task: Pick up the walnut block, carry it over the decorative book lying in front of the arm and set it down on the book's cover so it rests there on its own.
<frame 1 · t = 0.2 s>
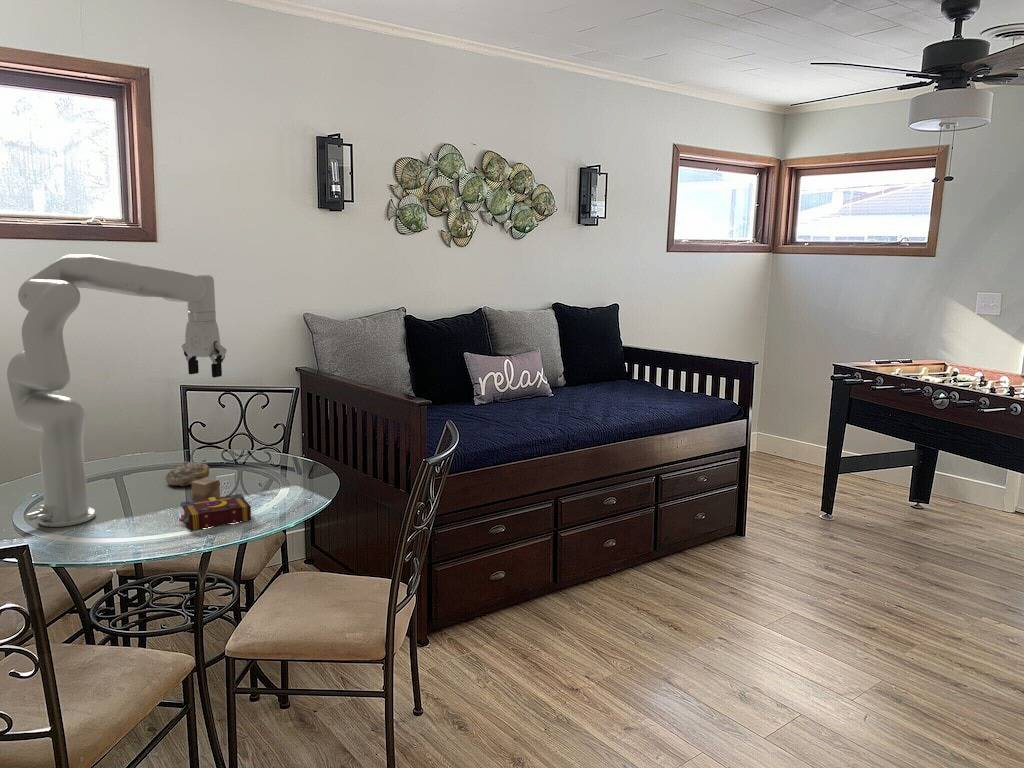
hand: (205, 375, 232), 31 cm above the table, fingers open, 9 cm apart
decorative book: (214, 521, 200), on the table
walnut block: (206, 502, 214), on the table
fossil: (188, 483, 231), on the table
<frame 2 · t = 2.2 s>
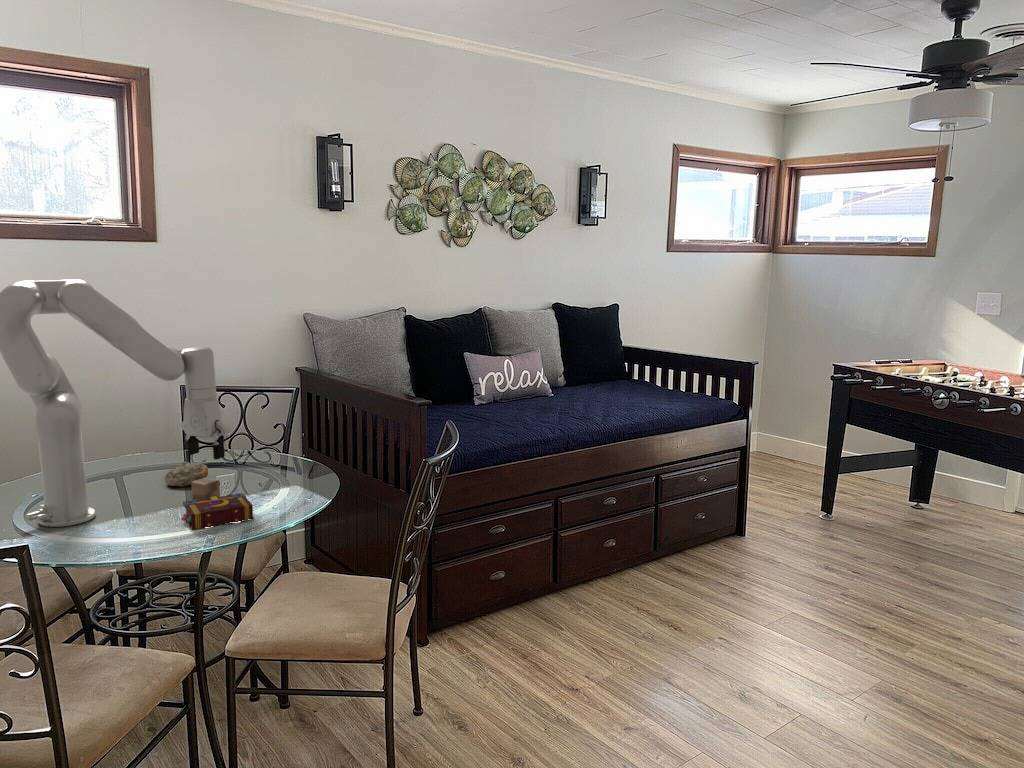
hand: (206, 456, 212), 13 cm above the table, fingers open, 9 cm apart
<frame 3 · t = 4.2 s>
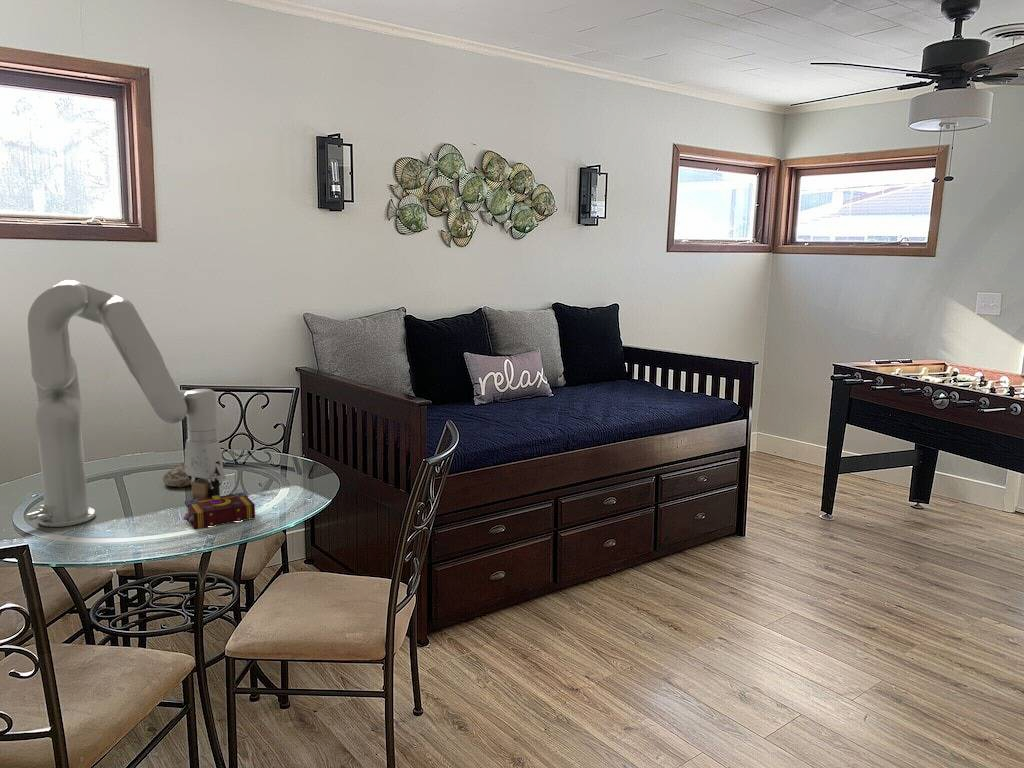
hand: (206, 499, 214), 1 cm above the table, fingers closed on walnut block, 5 cm apart
walnut block: (206, 502, 214), on the table, touching gripper
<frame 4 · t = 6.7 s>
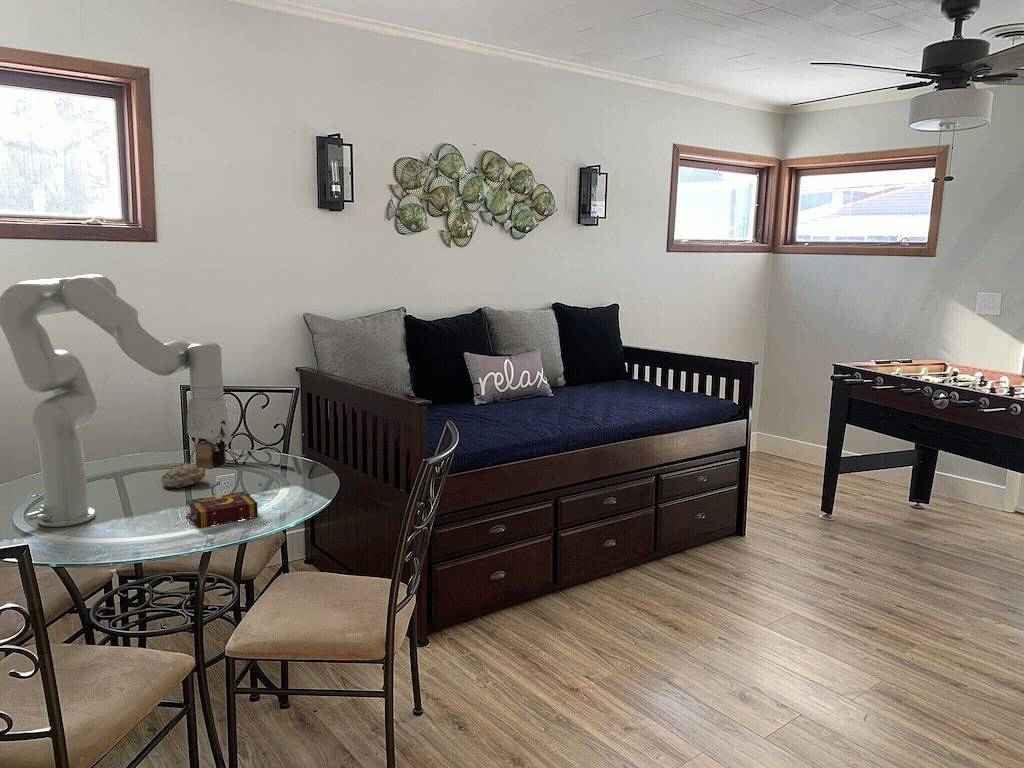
hand: (211, 463, 197), 15 cm above the table, fingers closed on walnut block, 5 cm apart
walnut block: (211, 465, 198), point 14 cm above the table, touching gripper
when the fingers open (6 cm above the table, at t = 9.0 s): walnut block moves 2 cm, resting on decorative book.
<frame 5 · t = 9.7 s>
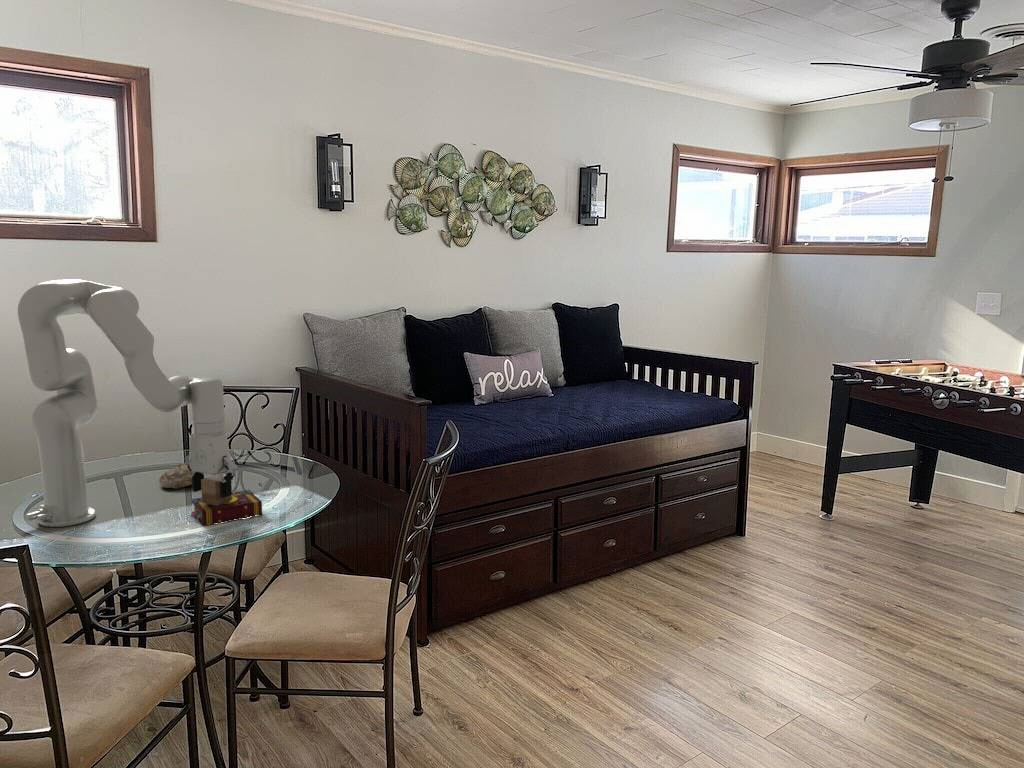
hand: (212, 493, 199), 7 cm above the table, fingers open, 9 cm apart
decorative book: (225, 517, 204), on the table, touching walnut block
walnut block: (217, 501, 201), point 5 cm above the table, touching decorative book
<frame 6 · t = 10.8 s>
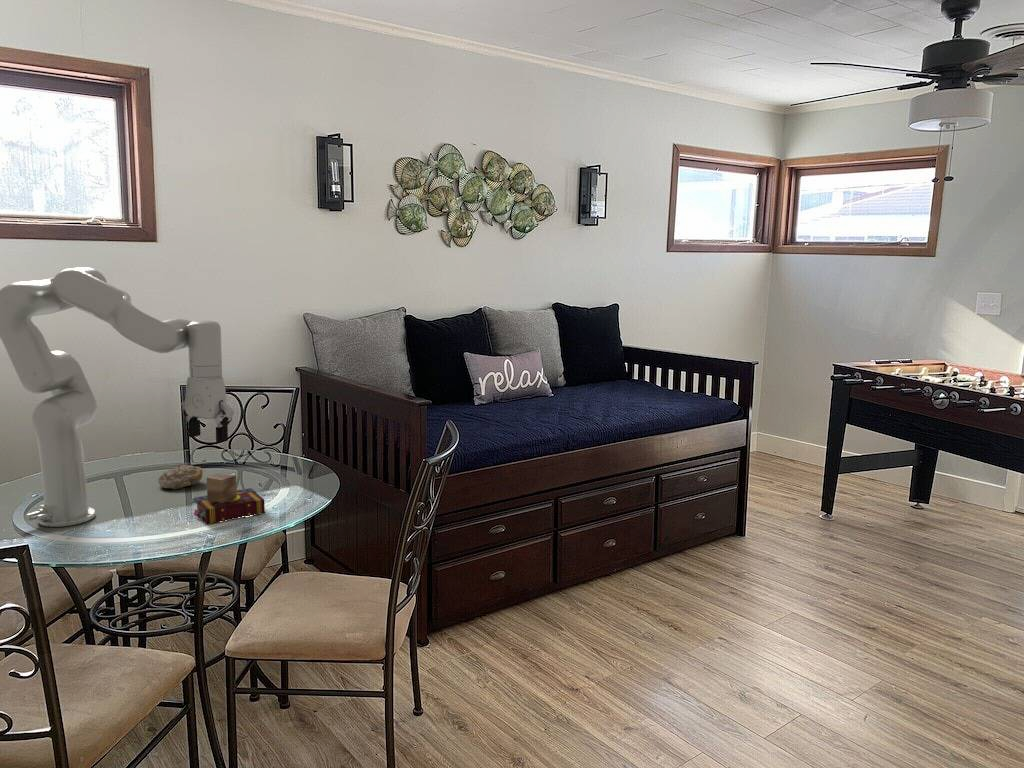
hand: (208, 439, 196), 21 cm above the table, fingers open, 9 cm apart
decorative book: (228, 515, 205), on the table, touching walnut block
walnut block: (222, 498, 202), point 5 cm above the table, touching decorative book
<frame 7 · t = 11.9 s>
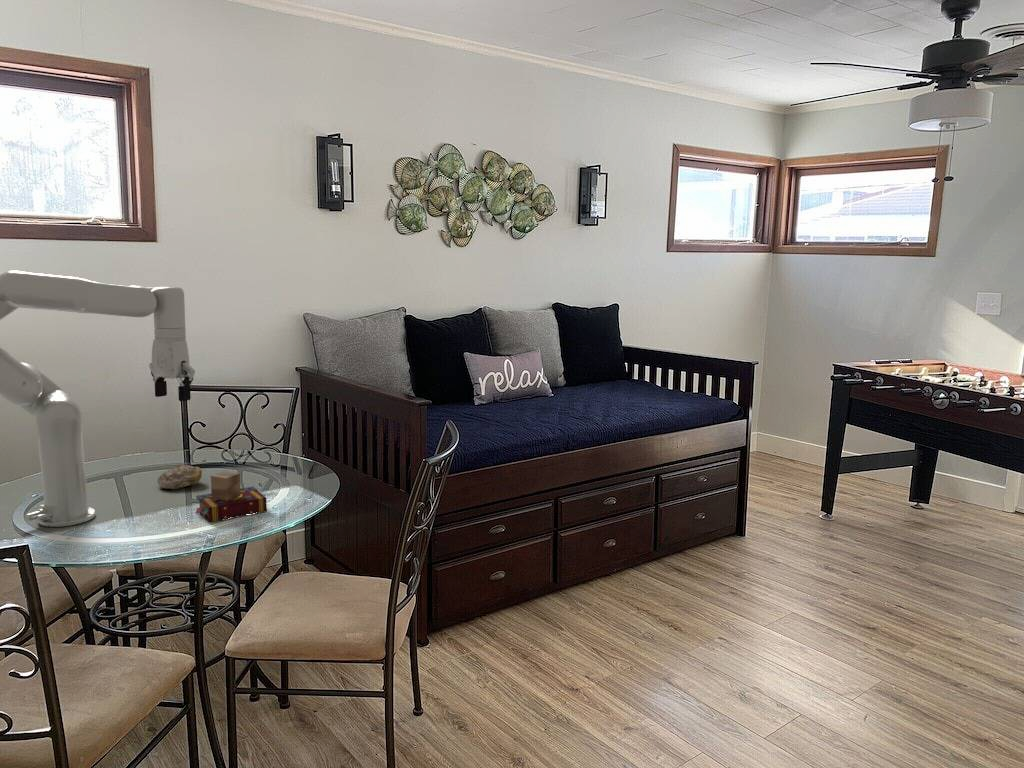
hand: (172, 398, 209), 29 cm above the table, fingers open, 9 cm apart
decorative book: (230, 513, 207), on the table, touching walnut block
walnut block: (226, 496, 204), point 5 cm above the table, touching decorative book
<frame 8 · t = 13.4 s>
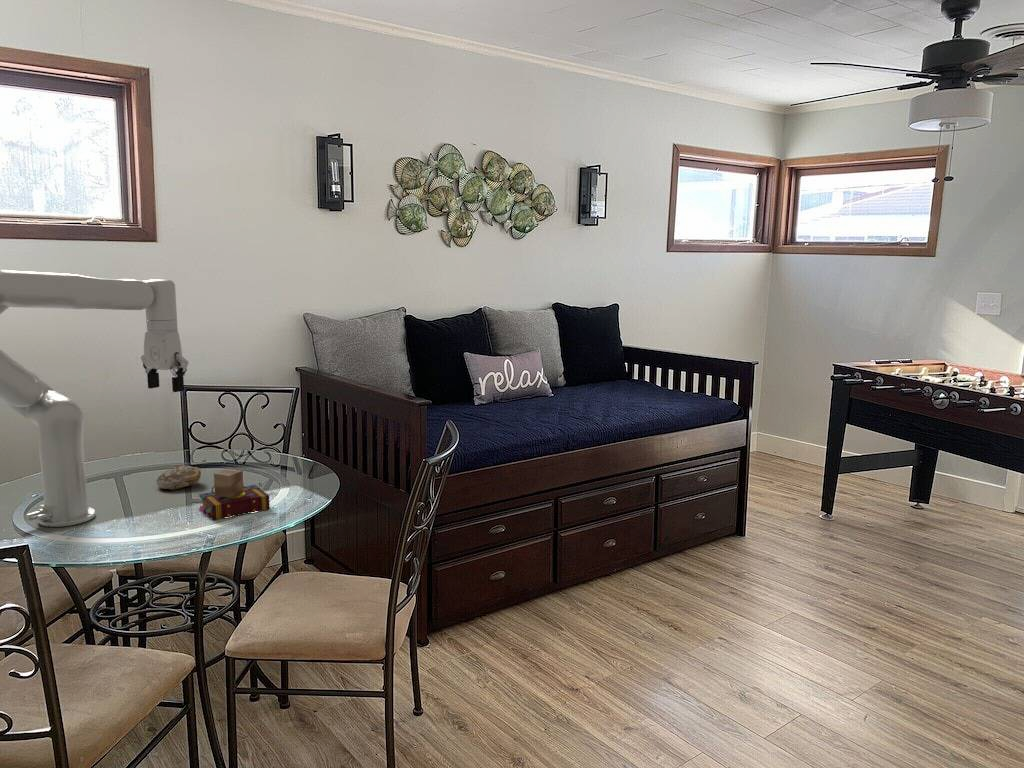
hand: (166, 389, 212), 30 cm above the table, fingers open, 9 cm apart
decorative book: (233, 511, 208), on the table, touching walnut block
walnut block: (229, 494, 206), point 5 cm above the table, touching decorative book
at the end: walnut block inside the target area on the decorative book (1.1 cm from its centre), point 5.2 cm above the decorative book's base; walnut block tilted 0°; the gripper is holding nothing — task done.
